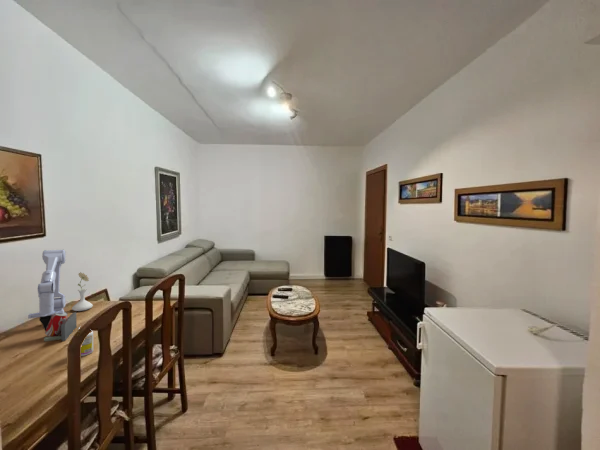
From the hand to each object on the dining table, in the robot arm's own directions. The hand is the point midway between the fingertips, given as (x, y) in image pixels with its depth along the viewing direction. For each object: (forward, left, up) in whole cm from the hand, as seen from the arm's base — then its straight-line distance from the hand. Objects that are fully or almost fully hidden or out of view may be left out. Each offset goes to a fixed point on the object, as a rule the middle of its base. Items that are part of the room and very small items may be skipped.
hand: (46, 329), depth 151 cm
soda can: (0, +2, -3) cm, 4 cm away
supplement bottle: (+27, +23, -4) cm, 36 cm away
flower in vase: (-43, +4, -4) cm, 44 cm away
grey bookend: (0, +6, -4) cm, 7 cm away
